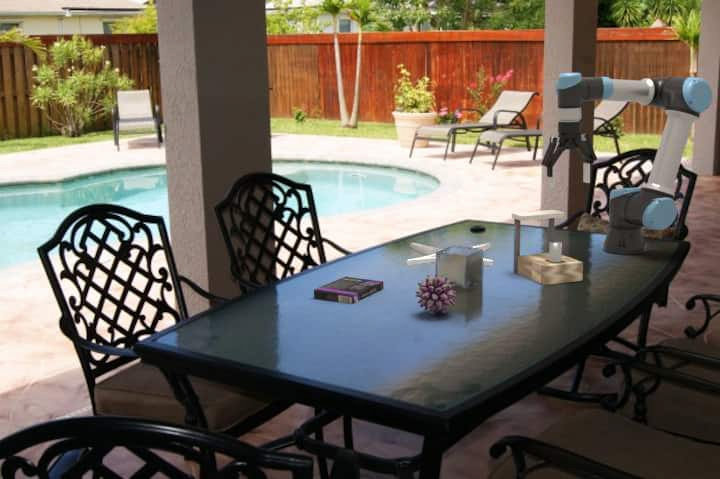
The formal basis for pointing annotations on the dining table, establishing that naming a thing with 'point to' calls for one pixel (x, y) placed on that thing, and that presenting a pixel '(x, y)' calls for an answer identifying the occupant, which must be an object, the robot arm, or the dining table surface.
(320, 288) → the box
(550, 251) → the peg
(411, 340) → the dining table surface
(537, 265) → the socket block
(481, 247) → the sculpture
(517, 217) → the miniature white table
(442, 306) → the purple spiky ball
